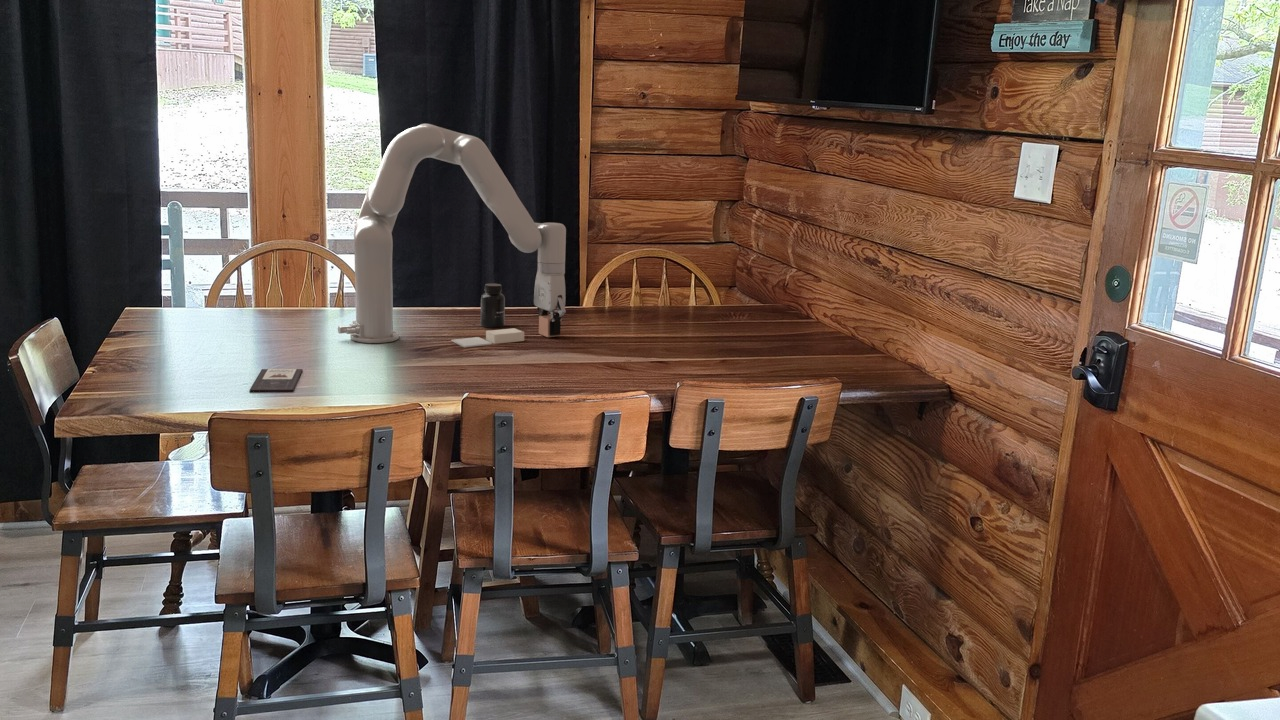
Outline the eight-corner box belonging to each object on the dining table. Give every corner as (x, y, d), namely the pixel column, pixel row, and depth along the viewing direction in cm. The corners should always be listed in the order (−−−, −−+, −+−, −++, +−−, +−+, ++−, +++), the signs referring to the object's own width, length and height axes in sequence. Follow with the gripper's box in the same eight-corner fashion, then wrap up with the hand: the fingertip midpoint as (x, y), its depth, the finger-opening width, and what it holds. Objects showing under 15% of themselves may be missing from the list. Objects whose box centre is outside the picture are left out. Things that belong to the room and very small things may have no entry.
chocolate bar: (249, 389, 226) (261, 369, 244) (249, 394, 227) (262, 373, 244) (293, 389, 228) (302, 369, 245) (293, 393, 228) (302, 372, 246)
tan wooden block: (547, 337, 290) (548, 319, 289) (538, 333, 294) (539, 315, 293) (560, 335, 292) (560, 317, 291) (551, 332, 296) (551, 314, 295)
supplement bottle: (502, 328, 299) (503, 287, 296) (478, 327, 299) (478, 286, 296) (506, 323, 306) (506, 283, 303) (482, 322, 306) (483, 282, 303)
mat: (464, 347, 275) (464, 346, 275) (451, 341, 281) (451, 339, 281) (491, 344, 280) (492, 343, 280) (478, 338, 286) (478, 337, 286)
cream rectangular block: (494, 343, 281) (494, 334, 280) (485, 340, 284) (486, 330, 284) (524, 340, 286) (524, 331, 285) (515, 337, 290) (515, 327, 289)
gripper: (524, 264, 293) (522, 328, 297) (555, 273, 280) (553, 340, 284) (547, 263, 297) (545, 325, 302) (579, 272, 284) (577, 338, 288)
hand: (549, 332), depth 293 cm, fingers closed on tan wooden block, 5 cm apart
